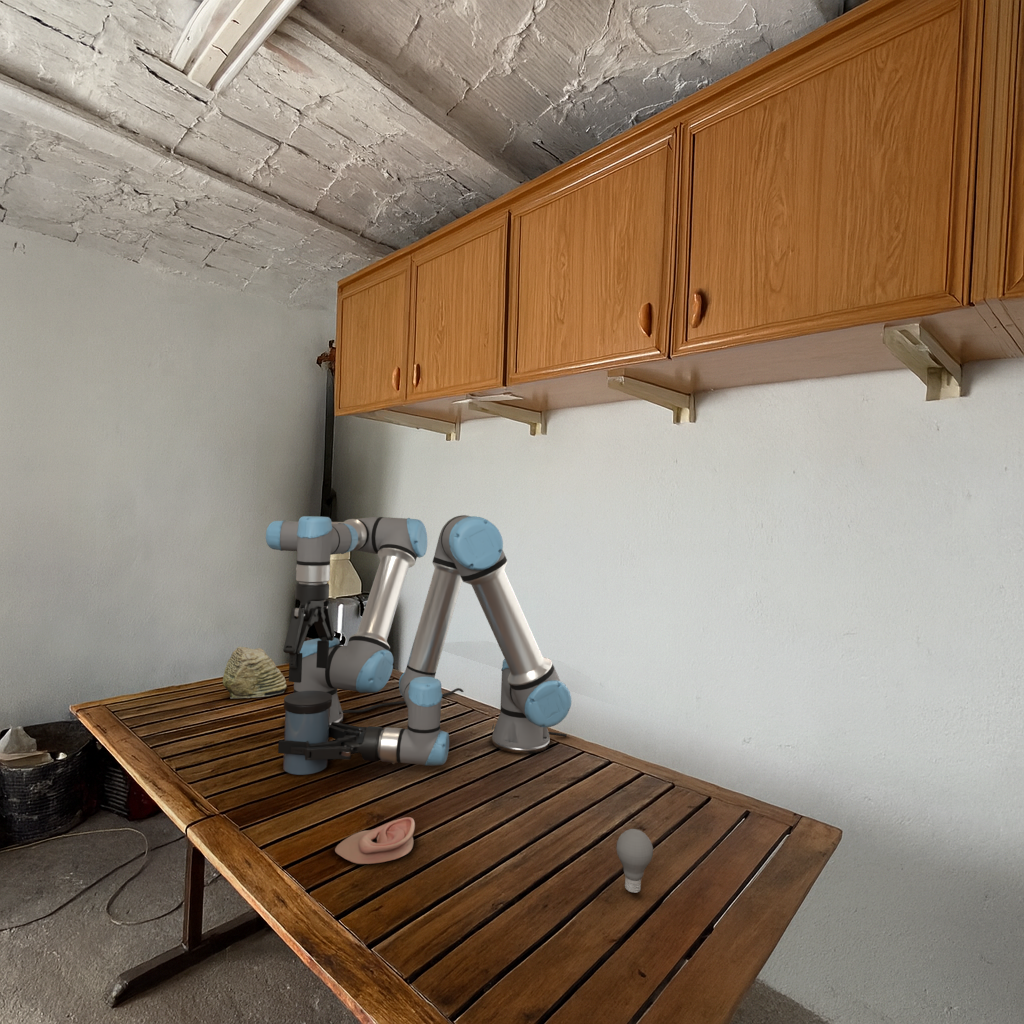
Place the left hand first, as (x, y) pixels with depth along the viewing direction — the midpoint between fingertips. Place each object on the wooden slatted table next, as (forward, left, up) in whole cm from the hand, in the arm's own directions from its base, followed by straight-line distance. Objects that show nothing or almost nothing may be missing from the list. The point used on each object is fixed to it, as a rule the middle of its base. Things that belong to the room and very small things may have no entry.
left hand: (309, 674), depth 148 cm
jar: (0, 0, -22) cm, 22 cm away
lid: (0, 0, -6) cm, 6 cm away
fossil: (-18, -56, -22) cm, 63 cm away
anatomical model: (+11, +39, -22) cm, 46 cm away
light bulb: (-9, +80, -22) cm, 84 cm away
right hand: (+2, -4, -15) cm, 16 cm away
